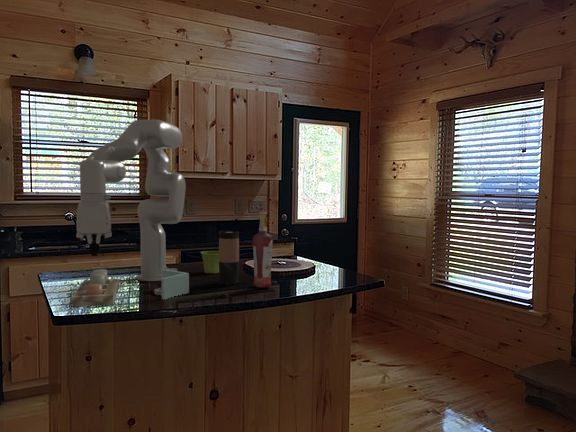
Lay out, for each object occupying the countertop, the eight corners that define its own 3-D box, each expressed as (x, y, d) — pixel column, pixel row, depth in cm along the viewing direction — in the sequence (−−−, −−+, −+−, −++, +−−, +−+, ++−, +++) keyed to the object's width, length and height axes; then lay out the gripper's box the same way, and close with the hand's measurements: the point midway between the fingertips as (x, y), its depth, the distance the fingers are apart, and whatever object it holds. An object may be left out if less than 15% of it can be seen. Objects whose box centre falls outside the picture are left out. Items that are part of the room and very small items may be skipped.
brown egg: (103, 298, 160) (103, 283, 160) (101, 302, 156) (101, 286, 155) (87, 299, 159) (87, 284, 159) (85, 303, 154) (85, 287, 154)
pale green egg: (105, 287, 168) (105, 273, 167) (104, 290, 163) (104, 276, 163) (90, 288, 166) (90, 273, 166) (89, 291, 162) (88, 276, 161)
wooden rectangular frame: (119, 286, 179) (119, 278, 179) (113, 304, 154) (113, 295, 154) (84, 288, 176) (83, 280, 176) (72, 306, 151) (71, 297, 151)
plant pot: (213, 269, 215) (214, 250, 215) (227, 272, 209) (227, 252, 208) (196, 272, 208) (196, 252, 208) (209, 275, 202) (209, 254, 201)
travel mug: (242, 282, 189) (242, 231, 188) (232, 286, 182) (232, 232, 181) (225, 280, 192) (225, 229, 191) (214, 284, 186) (214, 231, 184)
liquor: (268, 290, 176) (269, 212, 174) (249, 288, 178) (249, 212, 176) (274, 286, 183) (275, 211, 181) (256, 284, 185) (257, 211, 183)
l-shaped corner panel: (164, 289, 178) (163, 269, 177) (188, 294, 171) (188, 273, 171) (138, 296, 167) (138, 274, 167) (163, 301, 161) (163, 278, 161)
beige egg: (108, 282, 175) (107, 269, 175) (106, 285, 171) (106, 271, 170) (93, 283, 174) (93, 269, 174) (92, 286, 170) (91, 272, 169)
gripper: (118, 198, 162) (119, 253, 163) (69, 198, 158) (71, 254, 159) (117, 199, 154) (118, 256, 156) (65, 199, 150) (67, 258, 152)
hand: (94, 255), depth 157 cm, fingers closed
